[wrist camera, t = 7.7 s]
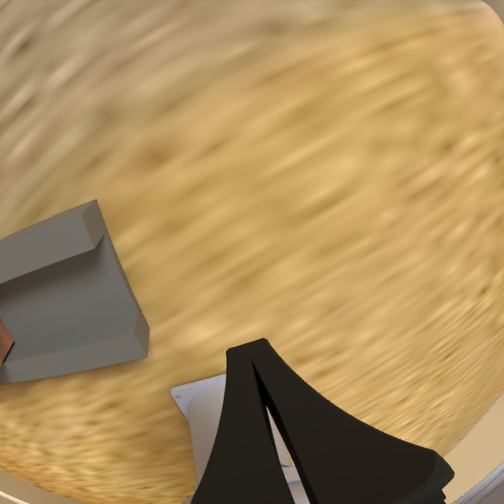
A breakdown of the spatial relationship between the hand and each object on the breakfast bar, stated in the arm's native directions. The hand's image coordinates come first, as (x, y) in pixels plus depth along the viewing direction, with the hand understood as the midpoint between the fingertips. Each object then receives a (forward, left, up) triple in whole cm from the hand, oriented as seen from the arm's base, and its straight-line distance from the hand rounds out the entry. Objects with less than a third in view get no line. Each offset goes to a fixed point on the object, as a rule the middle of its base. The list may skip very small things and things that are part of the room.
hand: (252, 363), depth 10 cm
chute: (+1, +15, -10) cm, 18 cm away
